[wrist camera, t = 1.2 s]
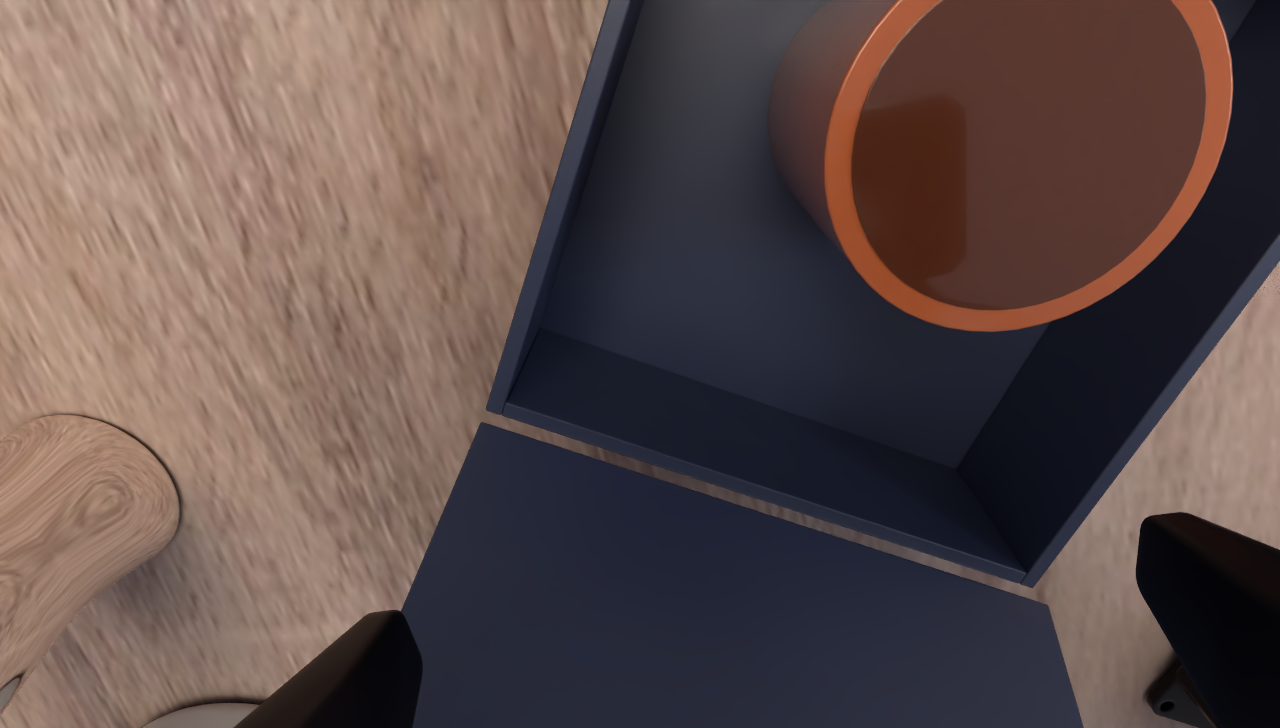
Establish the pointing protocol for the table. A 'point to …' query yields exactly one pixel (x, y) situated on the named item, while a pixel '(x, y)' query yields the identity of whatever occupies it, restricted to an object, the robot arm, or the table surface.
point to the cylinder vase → (205, 716)
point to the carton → (847, 309)
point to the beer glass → (70, 529)
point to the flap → (699, 614)
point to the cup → (1001, 145)
